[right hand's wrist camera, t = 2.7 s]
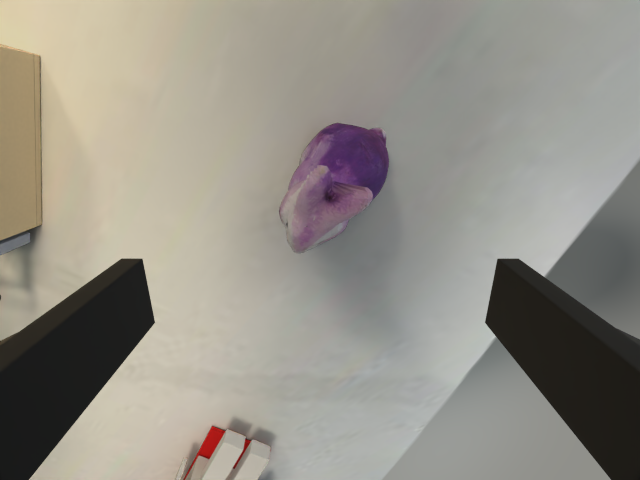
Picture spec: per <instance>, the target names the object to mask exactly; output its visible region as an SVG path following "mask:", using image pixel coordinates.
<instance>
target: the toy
mask: <svg viewBox="0 0 640 480" xmlns="http://www.w3.org/2000/svg"><path fill="white" fill-rule="evenodd" d="M245 438H246V436H244V435H241V434H239V433H236V432H234V431H231V430H229V429H227V430H226V431H223V430H221V429H218V428H216V427H213V426H212V427H211V429H210V431H209V433H208V435H207V437H206V438H205V440H204V442H203V444H202V446H201V448H200V450H199V452H198V453H197V455H196V457H195V459H194V461H193V463H192V465H191V467H190V469H189V470H188V472H187V474H186V476H185V478H184V480H258V478H259V476H260V475H261V473H262V471H263V470H264V468H265V467H266V465H267V463H268V462H269V459H270V451H271V447H270V446H268V445H266V444H263V443H261V442H258V441H256V440H253V439H252V441H250V440H247V439H245ZM187 460H188V459H187V458H184V459H183V461H182V464H181V466H180V469H179V471H178V474H177V476H176V479H175V480H181V477H182V475H183V472H184V469H185V466H186V463H187Z"/></svg>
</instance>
